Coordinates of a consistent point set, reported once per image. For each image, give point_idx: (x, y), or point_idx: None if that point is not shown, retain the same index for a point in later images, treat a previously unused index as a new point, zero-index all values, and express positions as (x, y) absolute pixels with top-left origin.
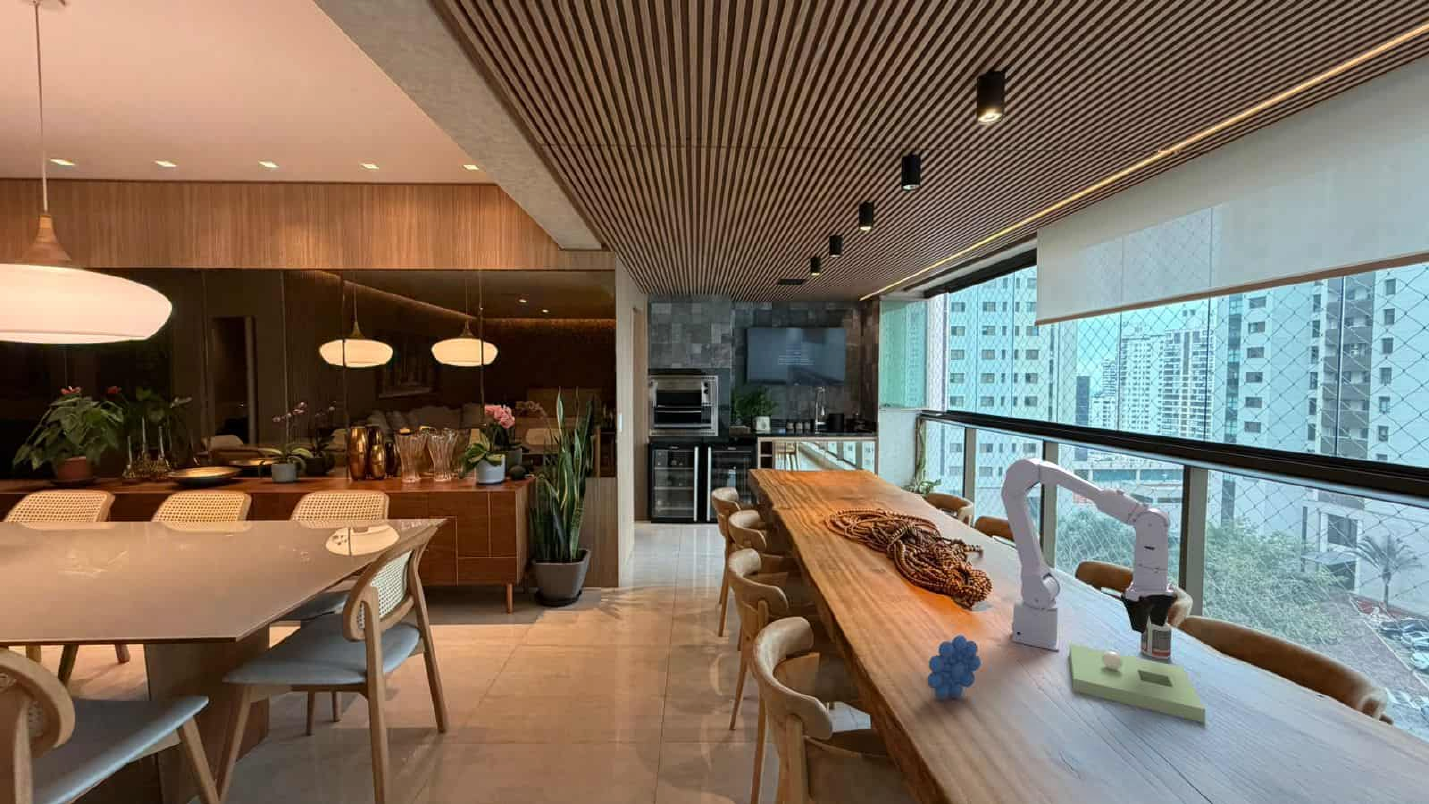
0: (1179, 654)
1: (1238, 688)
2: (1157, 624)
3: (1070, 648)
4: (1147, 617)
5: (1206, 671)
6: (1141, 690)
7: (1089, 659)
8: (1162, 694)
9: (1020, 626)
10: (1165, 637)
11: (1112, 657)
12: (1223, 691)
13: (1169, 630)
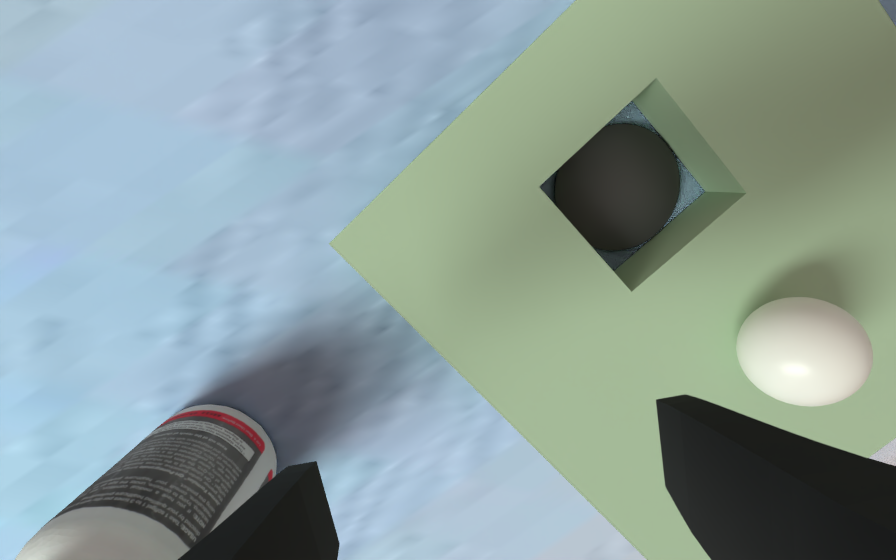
0: (84, 429)
1: (137, 87)
2: (325, 502)
3: None
4: (834, 478)
5: (124, 264)
6: (872, 104)
7: None
8: (805, 35)
9: None
10: (155, 480)
11: (867, 338)
12: (256, 86)
13: (87, 510)
